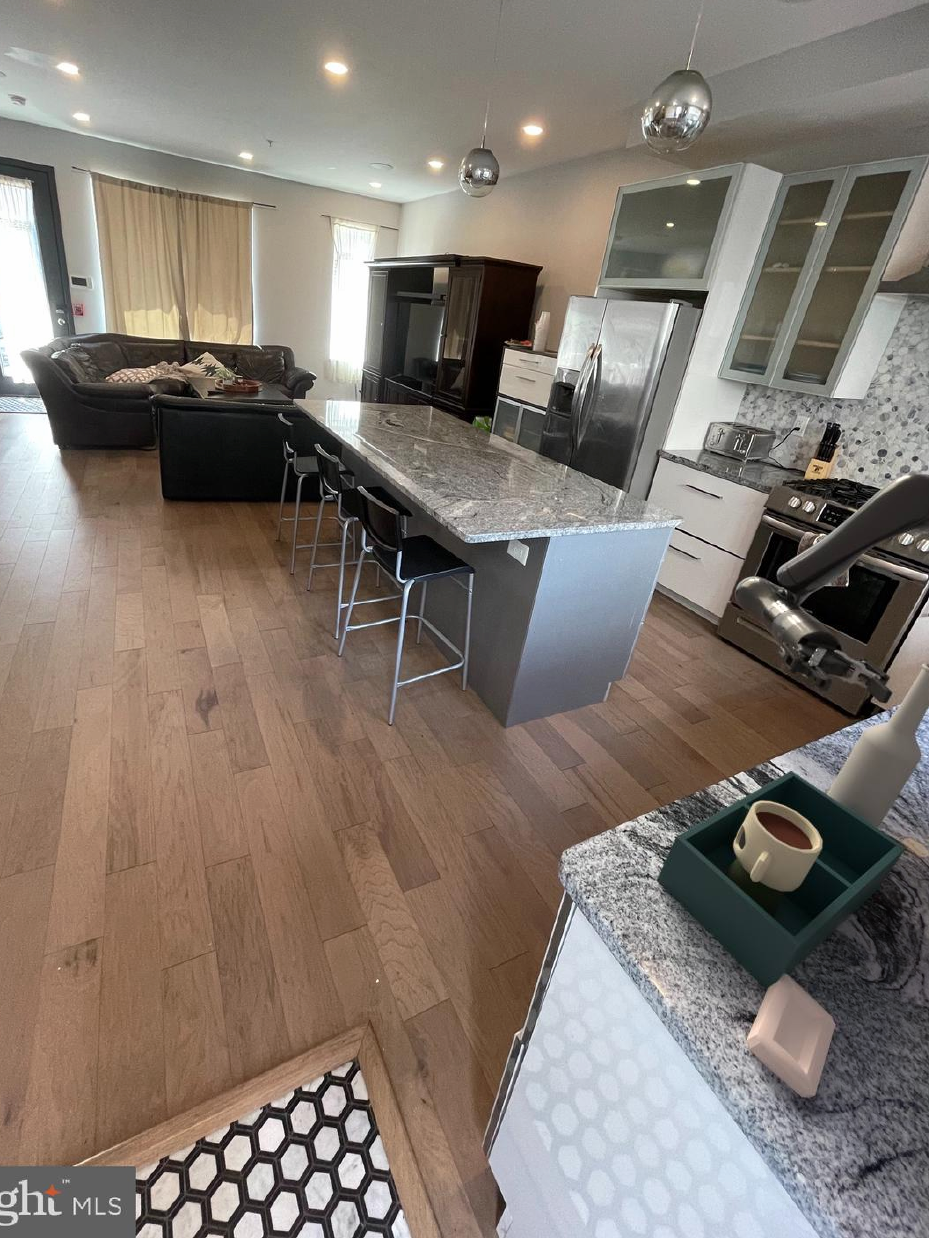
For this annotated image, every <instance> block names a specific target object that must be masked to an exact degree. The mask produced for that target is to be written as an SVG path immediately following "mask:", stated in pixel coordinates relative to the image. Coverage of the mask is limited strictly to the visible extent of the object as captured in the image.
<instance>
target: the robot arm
mask: <svg viewBox="0 0 929 1238" xmlns="http://www.w3.org/2000/svg"><path fill="white" fill-rule="evenodd" d="M907 533H909V534H920V535H921V534H922V535H925V536H927V537H929V474H927V473H926V474H925V473H910V474H905V475H901V476H899V477H897V478H894V479H893V480H892V481H890V482H888V483H887V484H886V485H884V486H883V487H882V488H881V489H880V490H879V491H877V492H876V493H875V494H874V495H873V496H872V497H871V498H869V499H868V500H867V501H866V502H865V503H864V504H863V505H862V506H861V507H859V508H858V509H857V510H856V511H855V512H854V513H853V514H852V515H851V516H849V517H848V518H847V519H845V521H844V522H842V523H841V524H840V525H839V526H837V528H835V529H833V530H832V531H831V532H830V533H829V534H827V535H826V536H825V537H823V538H822V539H821V540H819V541H818V542H816V543H814V545H811V546H810V547H808V548H807V549H805V550H804V551H802V552H801V553H799V554H798V555H796V556H795V557H793V558H791V559H790V560H788V561H787V562H785V563H784V564H783V565H781V566H780V567H779V568H778V570H777V571H776V578H777V581H778V583H779V585H777V584H775V583H773V582H771V581H770V580H767V579H766V578H763V577H761V576H749V577H746V578H744V579H741V581H739V583H738V584H737V585H736V588H735V592H734V595H735V596H734V597H735V601H736V602H737V605H738V606H739V607H740V608H741V609H742V610H743V611H744V612H746V613H747V614H748V615H750V616H751V617H752V618H753V619H755V620H756V621H757V622H759V623H761V625H763V626H764V627H765V629H766V630H767V631H768V632H769V633H770V635H772V637H773V638H774V640H775V642H776V643H777V645H778V646H779V647H780V648H779V650H778V652H777V654H776V656H777V657H778V658H779V660H780V661H781V662H782V664H783V665H784V666H785V668H786V670H788V672H790V673H791V674H795V675H797V674H798V673H800V674H801V675H802V677H804V678H805V679H809V680H810V681H811V683H812V684H813V685H814V686H816V687H817V689H819V691H821V692H828V691H829V690H830V688H831V686H832V683H833V679H832V678H831V677H830V676H829V675H831V676H835V677H837V678H839V679H841V680H842V681H844V682H847V683H849V685H854V684H857V686H860V687H862V688H864V689H865V690H866V691H867V692H868V693H869V694H870V695H871V696H872V697H874V699H876V701H877V702H878V703H881V704H888V702H889V700H890V699H891V697H892V695H893V691H892V690H891V689H890V688H888V687H887V684H888V682H889V680H890V679H891V677H890V675H888V673H886V672H885V671H883V670H882V669H881V668H880V667H879V666H877V665H876V664H875V663H874V662H873V661H871V660H870V659H868V658H867V657H863V656H861V657H860V658H859V660H855V659H853V658H851V657H850V656H849V655H848V654H846V653H845V652H843V649H842V644H841V642H840V640H839V638H838V637H837V636H836V635H835V634H834V633H833V632H831V631H830V630H829V629H828V628H827V627H826V626H825V625H824V624H823V623H822V622H820V621H819V620H818V619H817V617H814V616H812V615H811V614H809V613H808V612H807V611H806V610H805V609H804V608H803V607H802V606H801V604H802V603H803V602H804V601H806V599H807V598H808V597H809V596H810V595H811V594H813V593H815V592H816V591H818V590H820V589H822V588H824V587H825V586H827V585H829V584H831V583H833V582H834V581H836V580H838V579H839V578H840V577H842V576H843V575H844V574H845V573H846V572H848V571H849V570H850V569H851V568H852V566H854V564H855V563H856V562H857V561H858V559H860V558H861V556H863V555H864V554H865V553H867V552H868V551H869V550H871V549H872V548H874V547H876V546H878V545H879V544H881V543H883V542H886V541H888V540H891V539H893V538H895V537H898V536H900V535H903V534H907ZM851 669H854V671H853V673H852V674H851V676H849V675H848V674H849V671H850V670H851ZM861 678H863V679H861Z"/></svg>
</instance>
